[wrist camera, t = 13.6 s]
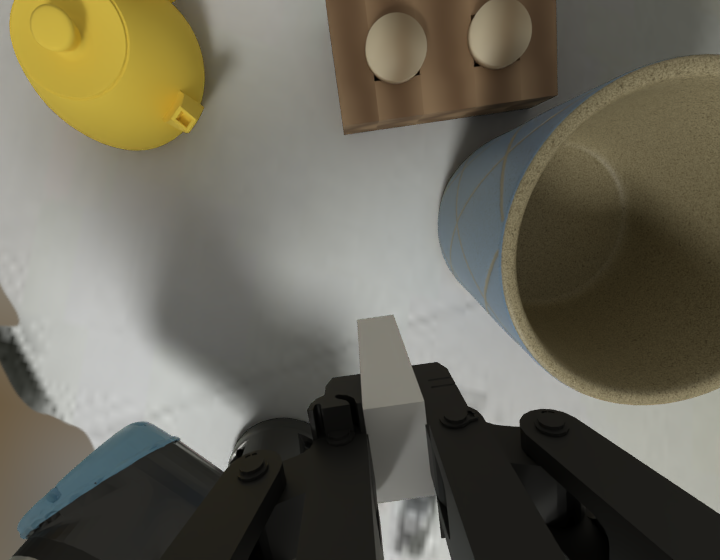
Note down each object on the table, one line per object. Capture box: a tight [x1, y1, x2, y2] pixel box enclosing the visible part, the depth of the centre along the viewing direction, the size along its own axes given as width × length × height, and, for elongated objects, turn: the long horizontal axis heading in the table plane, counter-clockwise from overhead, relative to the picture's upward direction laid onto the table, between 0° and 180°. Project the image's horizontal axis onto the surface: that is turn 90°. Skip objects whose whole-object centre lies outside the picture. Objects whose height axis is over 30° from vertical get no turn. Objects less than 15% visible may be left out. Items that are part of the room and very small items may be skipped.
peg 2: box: [467, 0, 532, 70], centre depth 39 cm, size 6×6×7 cm
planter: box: [438, 54, 720, 405], centre depth 36 cm, size 23×23×24 cm
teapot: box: [10, 0, 205, 150], centre depth 36 cm, size 20×19×13 cm
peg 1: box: [365, 12, 427, 84], centre depth 39 cm, size 6×6×7 cm
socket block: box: [326, 0, 558, 135], centre depth 40 cm, size 22×12×6 cm, turn 98°
